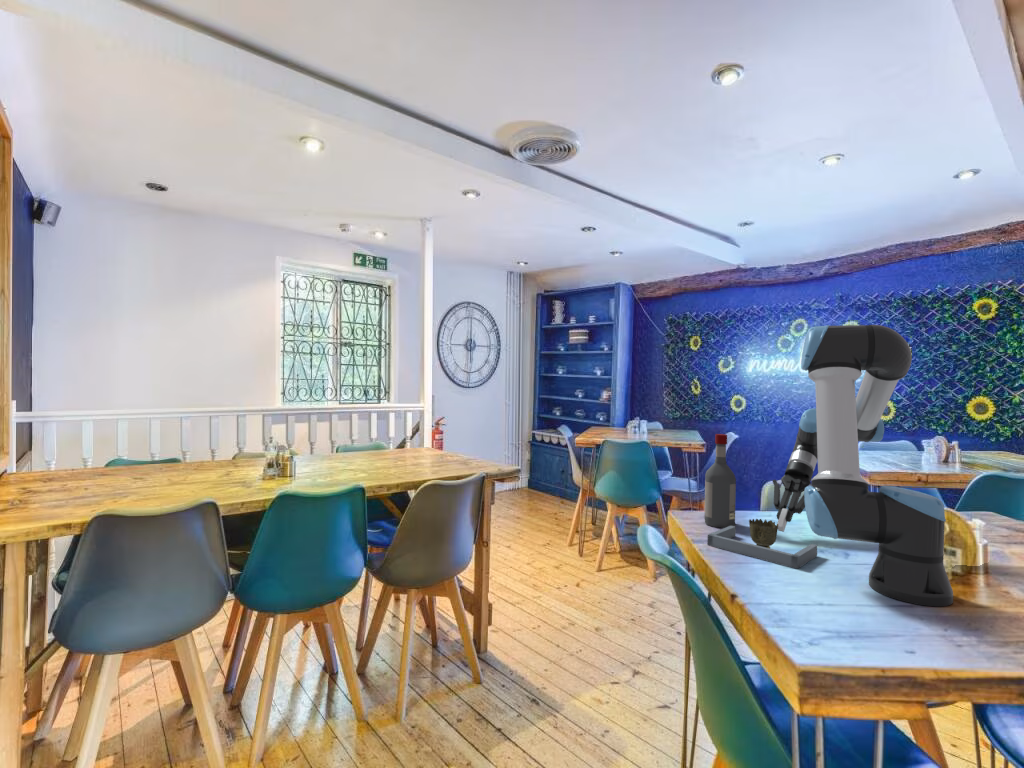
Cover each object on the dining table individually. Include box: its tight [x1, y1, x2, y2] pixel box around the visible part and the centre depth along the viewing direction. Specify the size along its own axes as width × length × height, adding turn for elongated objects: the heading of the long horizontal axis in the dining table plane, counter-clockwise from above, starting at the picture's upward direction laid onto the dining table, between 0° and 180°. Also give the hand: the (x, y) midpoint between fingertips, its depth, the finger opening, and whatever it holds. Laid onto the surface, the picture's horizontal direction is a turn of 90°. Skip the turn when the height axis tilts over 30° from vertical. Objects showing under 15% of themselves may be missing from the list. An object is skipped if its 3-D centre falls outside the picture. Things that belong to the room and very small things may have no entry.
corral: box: [706, 525, 818, 570], centre depth 143 cm, size 24×15×3 cm, turn 42°
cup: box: [748, 518, 779, 549], centre depth 143 cm, size 8×7×8 cm
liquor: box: [703, 433, 737, 529], centre depth 169 cm, size 9×9×30 cm
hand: (780, 528), depth 153 cm, fingers closed
